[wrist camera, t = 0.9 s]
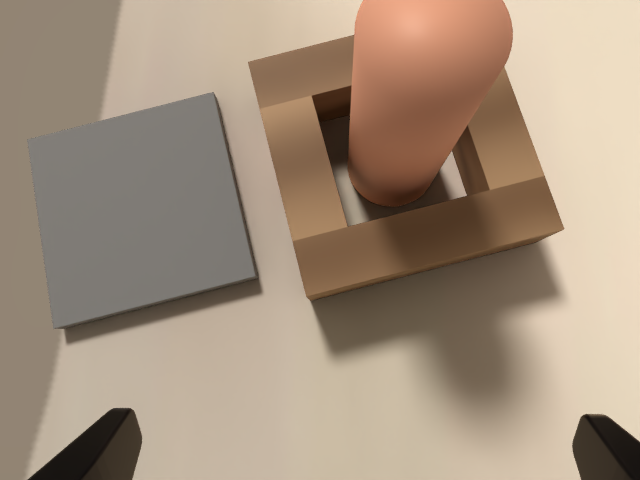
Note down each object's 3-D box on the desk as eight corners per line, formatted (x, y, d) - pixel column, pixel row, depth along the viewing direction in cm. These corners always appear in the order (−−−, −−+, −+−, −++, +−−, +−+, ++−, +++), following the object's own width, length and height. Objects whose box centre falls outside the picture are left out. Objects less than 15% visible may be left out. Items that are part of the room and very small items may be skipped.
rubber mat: (258, 277, 23) (255, 276, 23) (63, 328, 23) (53, 328, 23) (217, 99, 25) (213, 91, 25) (36, 145, 25) (27, 139, 24)
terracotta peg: (446, 194, 24) (534, 80, 13) (360, 216, 24) (378, 121, 13) (420, 114, 25) (483, -53, 14) (337, 136, 25) (337, -16, 14)
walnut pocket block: (535, 242, 23) (564, 229, 20) (310, 300, 23) (306, 296, 20) (464, 40, 25) (480, 2, 22) (258, 93, 25) (248, 61, 22)
